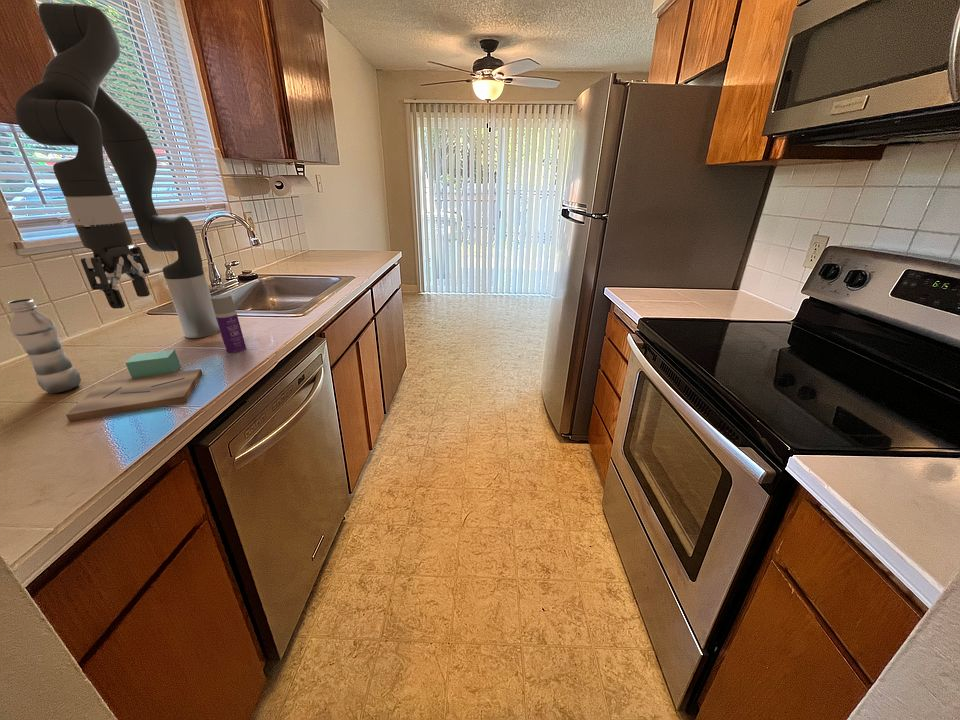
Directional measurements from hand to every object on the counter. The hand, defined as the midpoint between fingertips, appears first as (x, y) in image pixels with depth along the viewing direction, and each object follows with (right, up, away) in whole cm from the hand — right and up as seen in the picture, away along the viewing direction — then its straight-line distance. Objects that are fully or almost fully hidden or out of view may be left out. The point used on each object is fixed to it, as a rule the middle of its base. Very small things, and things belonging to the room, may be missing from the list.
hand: (131, 301), depth 84 cm
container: (+9, -10, +22) cm, 26 cm away
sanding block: (-2, -16, +9) cm, 19 cm away
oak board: (+2, -20, 0) cm, 20 cm away
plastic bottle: (-18, -19, +3) cm, 26 cm away
